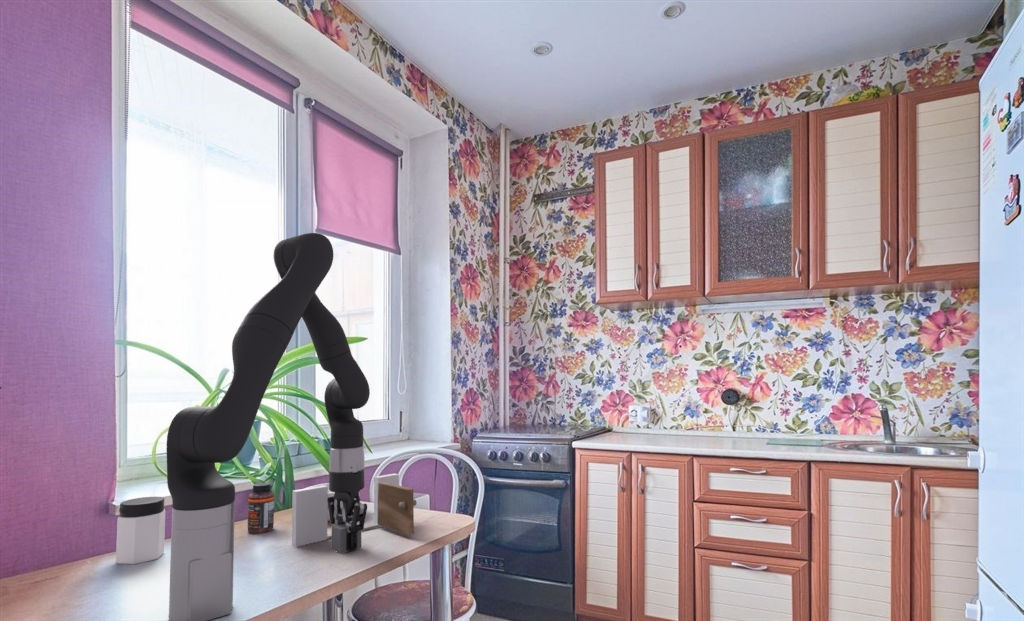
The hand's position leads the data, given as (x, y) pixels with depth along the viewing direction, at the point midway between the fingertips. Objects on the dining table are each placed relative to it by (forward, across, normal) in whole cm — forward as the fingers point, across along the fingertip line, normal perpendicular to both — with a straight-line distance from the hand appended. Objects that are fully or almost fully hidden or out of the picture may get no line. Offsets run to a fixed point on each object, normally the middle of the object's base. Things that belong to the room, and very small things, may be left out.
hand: (346, 547), depth 127 cm
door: (-1, -3, +14) cm, 14 cm away
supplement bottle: (+1, -30, -7) cm, 31 cm away
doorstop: (0, 0, 0) cm, 0 cm away
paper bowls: (+1, -29, +11) cm, 31 cm away
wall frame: (0, -11, +7) cm, 13 cm away
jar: (+1, -28, -33) cm, 43 cm away
